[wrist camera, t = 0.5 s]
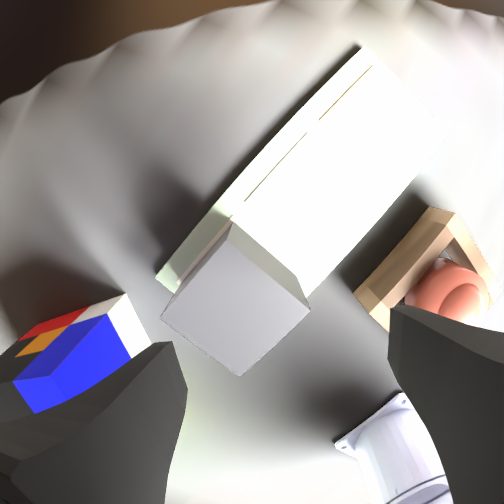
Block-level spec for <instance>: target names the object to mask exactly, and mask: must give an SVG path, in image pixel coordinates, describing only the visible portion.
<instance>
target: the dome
mask: <svg viewBox="0 0 504 504" xmlns="http://www.w3.org/2000/svg"><path fill="white" fill-rule="evenodd" d="M488 301H489V292H488V287H487V284H486V282H485V281H484V279H483V278H482V277H481V276H479V275H478V274H476V273H474V272H472V271H470V270H469V269H467V268H465V267H463V266H461V265H459V264H457V263H455V262H453V261H451V260H449V259H446V258H437V259H436V260H435V261H434V263H433V264H432V265H431V266H430V267H429V269H428V270H427V271H426V272H425V273H424V274H423V276H422V277H421V278H420V279H419V280H418V281H417V282H416V284H415V285H414V286H413V287H412V288H411V289H410V290H409V291H408V292H407V294H406V295H405V305H411V306H415V307H418V308H421V309H424V310H427V311H430V312H433V313H436V314H439V315H441V316H444V317H447V318H450V319H453V320H456V321H459V322H462V323H465V324H469V325H472V326H476V327H479V326H480V325H481V323H482V321H483V319H484V317H485V314H486V311H487V307H488Z"/></svg>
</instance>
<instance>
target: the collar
mask: <svg viewBox="0 0 504 504" xmlns="http://www.w3.org/2000/svg"><path fill="white" fill-rule="evenodd" d="M444 249H445V250H446V251H447V253H448V254H449V255H450V257H451V258H452V260H453V261H454V262H455V263H457V264H459V265H461V266H463V267H465V268H467V269H469V270H470V271H472V272H474V273H476V274H478V275H479V276H481V277H482V278H483V279H484V281H485V282H486V284H487V287H488V292H489V301H488V307H487V310H488V309H489V308H490V306H491V305H492V304H493V302H494V301H495V300H496V298H497V297H498V296H499V294H500V293H501V292H502V291H501V289H500V287H499V285H498V283H497V281H496V279H495V277H494V275H493V274H492V272H491V270H490V268H489V266H488V265H487V263H486V261H485V259H484V257H483V256H482V254H481V252H480V251H479V249H478V247H477V246H476V244H475V242H474V241H473V239H472V238H471V236H470V234H469V233H468V231H467V230H466V228H465V227H464V225H463V223H462V222H461V220H460V219H459V217H458V216H457V215H456V213H453V212H449V211H446V210H442V209H438V208H434V207H430V206H429V207H428V208H427V210H426V211H425V212H424V213H423V215H422V216H421V217H420V218H419V219H418V221H417V222H416V223H415V224H414V226H413V227H412V228H411V229H410V230H409V232H408V233H407V234H406V235H405V236H404V237H403V239H402V240H401V241H400V242H399V243H398V244H397V246H396V247H395V248H394V249H393V250H392V251H391V252H390V254H389V255H388V256H387V257H386V258H385V259H384V260H383V261H382V262H381V264H380V265H379V266H378V267H377V268H376V269H375V270H374V271H373V272H372V273H371V274H370V276H369V277H368V278H367V279H366V280H365V281H364V282H363V283H362V284H361V285H360V286H359V287H358V288H357V289H356V290H355V291H354V292H353V294H354V295H355V297H356V298H357V299H358V300H359V302H360V303H361V304H362V305H363V307H364V308H365V309H366V311H367V312H368V313H369V314H370V315H371V316H372V317H373V318H374V319H375V320H376V321H377V322H378V323H379V324H380V325H381V326H382V327H383V328H384V329H385V330H387V331H388V332H389V326H390V308H393V307H395V305H396V304H397V303H398V302H399V301H400V300H401V299H402V298H403V297H404V296H405V295H406V294H407V292H408V291H409V290H410V289H411V288H412V287H413V286H414V285H415V284H416V282H417V281H418V280H419V279H420V278H421V277H422V276H423V274H424V273H425V272H426V271H427V270H428V269H429V267H430V266H431V265H432V264H433V263H434V261H435V260H436V259H437V258H438V256H439V255H440V254H441V253H442V252H443V250H444Z"/></svg>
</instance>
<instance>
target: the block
mask: <svg viewBox="0 0 504 504" xmlns="http://www.w3.org/2000/svg"><path fill="white" fill-rule="evenodd" d="M310 311H311V309H310V307H309V305H308V302H307V300H306V297H305V295H304V292H303V290H302V288H301V285H300V283H299V280H298V278H297V276H296V275H295V274H294V273H293V272H292V271H291V270H289V269H288V268H287V267H286V266H285V265H284V264H282V263H281V262H280V261H279V260H278V259H277V258H276V257H274V256H273V255H272V254H271V253H270V252H269V251H267V250H266V249H265V248H264V247H263V246H262V245H260V244H259V243H258V242H257V241H256V240H255V239H253V238H252V237H251V236H250V235H249V234H248V233H246V232H245V231H244V230H243V229H242V228H241V227H240V226H238V225H237V224H236V223H235V222H233V223H232V224H231V225H230V226H229V227H228V229H227V230H226V231H225V232H224V233H223V234H222V236H221V237H220V238H219V239H218V240H217V241H216V242H215V244H214V245H213V246H212V247H211V248H210V249H209V251H208V252H207V253H206V254H205V255H204V256H203V258H202V259H201V260H200V261H199V262H198V263H197V265H196V266H195V267H194V268H193V269H192V271H191V272H190V273H189V274H188V275H187V277H186V278H185V279H184V280H183V281H182V282H181V284H180V286H179V287H178V289H177V290H176V292H175V294H174V295H173V297H172V299H171V300H170V302H169V303H168V305H167V307H166V308H165V310H164V312H163V313H162V315H161V317H160V319H161V320H162V321H164V322H165V323H166V324H167V325H169V326H170V327H171V328H173V329H174V330H175V331H176V332H178V333H179V334H180V335H182V336H183V337H184V338H186V339H187V340H188V341H190V342H191V343H192V344H194V345H195V346H196V347H198V348H199V349H200V350H202V351H203V352H205V353H206V354H207V355H209V356H210V357H212V358H213V359H214V360H216V361H217V362H219V363H220V364H222V365H223V366H224V367H226V368H227V369H229V370H230V371H232V372H233V373H235V374H236V375H238V376H239V377H241V376H242V375H243V374H244V373H245V372H246V371H248V370H249V369H250V368H251V367H252V366H253V365H254V364H255V363H256V362H258V361H259V360H260V359H261V358H262V357H263V356H264V355H265V354H266V353H267V352H269V351H270V350H271V349H272V348H273V347H274V346H275V345H276V344H277V343H278V342H279V341H280V340H281V339H283V338H284V337H285V336H286V335H287V334H288V333H289V332H290V331H291V330H292V329H293V328H294V327H295V326H296V325H297V324H298V323H299V322H300V321H301V320H302V319H303V318H304V317H305V316H306V315H307V314H308V313H309V312H310Z"/></svg>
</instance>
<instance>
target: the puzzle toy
mask: <svg viewBox="0 0 504 504" xmlns="http://www.w3.org/2000/svg"><path fill="white" fill-rule="evenodd" d="M150 345H152V343H151V342H150V340H149V338H148V336H147V334H146V332H145V330H144V328H143V327H142V325H141V323H140V321H139V319H138V317H137V315H136V313H135V311H134V309H133V307H132V305H131V303H130V301H129V298H128V296H127V294H123V295H120V296H117V297H114V298H111V299H108V300H105V301H103V302H100V303H97V304H94V305H91V306H88V307H85V308H82V309H80V310H77V311H74V312H71V313H68V314H65V315H62V316H59V317H56V318H54V319H51V320H48V321H45V322H42V323H39V324H37V325H36V326H35V327H33V328H32V329H31V330H30V331H29V332H27V333H26V334H25V335H24V336H23V337H21V338H20V339H19V340H18V341H17V342H15V343H14V344H13V345H12V346H11V347H10V348H8V349H7V350H6V351H5V352H4V353H3V354H2V355H0V423H1V422H6V421H11V420H15V419H18V418H22V417H26V416H29V415H32V414H35V413H38V412H41V411H43V410H45V409H48V408H50V407H53V406H55V405H58V404H60V403H62V402H64V401H67V400H68V399H70V398H72V397H74V396H76V395H78V394H80V393H82V392H83V391H85V390H87V389H89V388H90V387H92V386H93V385H95V384H96V383H98V382H99V381H101V380H102V379H104V378H105V377H107V376H108V375H110V374H111V373H113V372H114V371H116V370H117V369H118V368H120V367H121V366H122V365H124V364H125V363H126V362H128V361H129V360H130V359H132V358H133V357H134V356H136V355H137V354H139V353H140V352H141V351H143V350H144V349H146V348H147V347H148V346H150Z"/></svg>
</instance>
